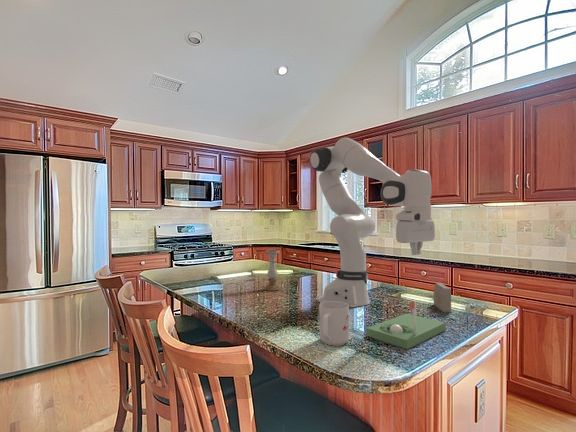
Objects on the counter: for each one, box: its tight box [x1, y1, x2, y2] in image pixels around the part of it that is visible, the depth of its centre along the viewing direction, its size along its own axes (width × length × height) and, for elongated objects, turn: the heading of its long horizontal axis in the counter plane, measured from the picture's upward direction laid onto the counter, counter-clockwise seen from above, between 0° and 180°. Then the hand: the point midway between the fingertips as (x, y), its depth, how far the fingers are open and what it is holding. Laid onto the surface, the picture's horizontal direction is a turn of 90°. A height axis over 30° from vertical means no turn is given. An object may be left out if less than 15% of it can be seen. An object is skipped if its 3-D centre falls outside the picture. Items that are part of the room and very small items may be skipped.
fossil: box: [433, 282, 452, 313], centre depth 136 cm, size 12×4×10 cm, turn 173°
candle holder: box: [263, 249, 282, 292], centre depth 172 cm, size 9×9×20 cm
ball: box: [390, 324, 403, 333], centre depth 103 cm, size 4×4×4 cm
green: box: [366, 300, 446, 350], centre depth 107 cm, size 24×14×12 cm, turn 130°
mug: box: [318, 301, 350, 347], centre depth 98 cm, size 12×9×11 cm
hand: (415, 254), depth 116 cm, fingers closed
